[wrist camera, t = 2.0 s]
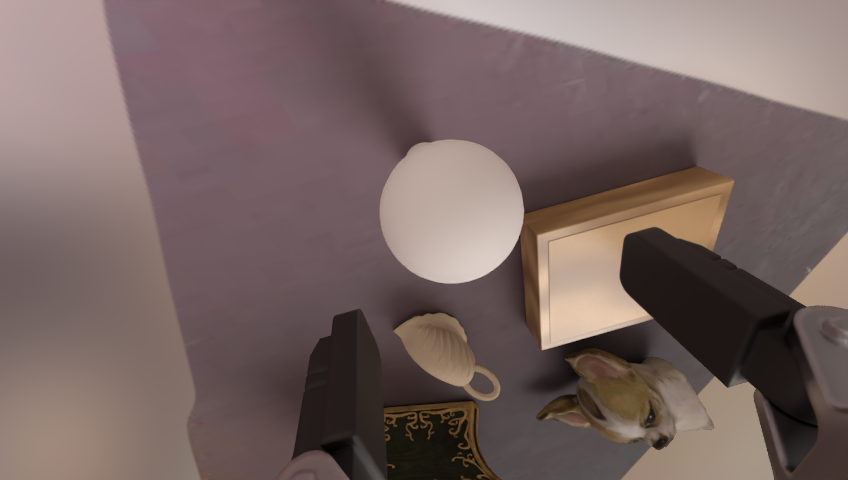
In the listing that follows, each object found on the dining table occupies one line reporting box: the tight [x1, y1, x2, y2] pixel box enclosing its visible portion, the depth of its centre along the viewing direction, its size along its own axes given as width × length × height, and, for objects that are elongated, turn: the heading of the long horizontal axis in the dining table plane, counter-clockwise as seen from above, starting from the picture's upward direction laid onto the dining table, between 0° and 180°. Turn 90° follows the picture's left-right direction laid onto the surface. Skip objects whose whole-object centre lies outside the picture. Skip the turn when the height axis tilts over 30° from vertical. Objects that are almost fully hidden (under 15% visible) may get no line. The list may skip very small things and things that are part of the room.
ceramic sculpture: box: [536, 348, 714, 450], centre depth 33 cm, size 11×9×15 cm
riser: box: [520, 166, 735, 351], centre depth 26 cm, size 12×14×3 cm
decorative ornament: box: [394, 313, 500, 401], centre depth 27 cm, size 4×8×5 cm, turn 47°
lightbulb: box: [380, 140, 524, 283], centre depth 16 cm, size 6×6×11 cm
